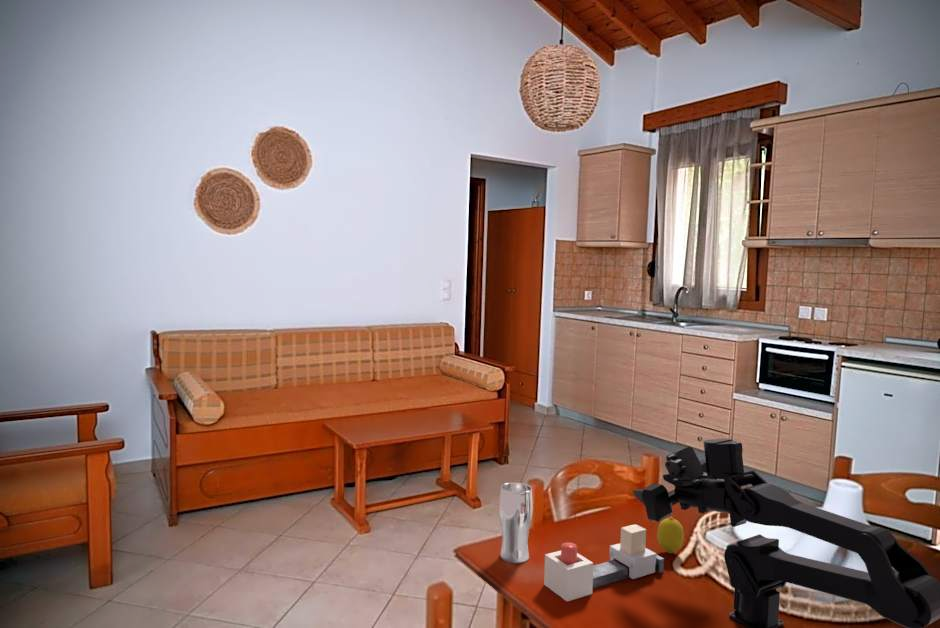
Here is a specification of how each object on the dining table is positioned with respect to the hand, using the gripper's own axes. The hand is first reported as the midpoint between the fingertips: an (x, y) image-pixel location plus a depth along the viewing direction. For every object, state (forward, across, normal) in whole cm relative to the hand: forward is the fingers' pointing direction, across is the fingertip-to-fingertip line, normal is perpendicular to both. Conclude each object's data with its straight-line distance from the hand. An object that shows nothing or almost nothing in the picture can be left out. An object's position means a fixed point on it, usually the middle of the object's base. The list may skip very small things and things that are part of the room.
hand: (648, 484), depth 129 cm
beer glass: (+18, +25, +10) cm, 32 cm away
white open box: (+2, +24, +12) cm, 27 cm away
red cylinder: (+2, +24, +9) cm, 25 cm away
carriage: (+2, +8, +15) cm, 17 cm away
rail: (+2, +12, +15) cm, 19 cm away
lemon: (+3, -5, +18) cm, 19 cm away
